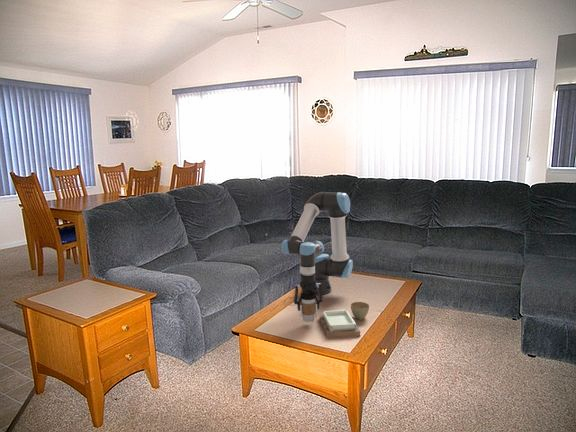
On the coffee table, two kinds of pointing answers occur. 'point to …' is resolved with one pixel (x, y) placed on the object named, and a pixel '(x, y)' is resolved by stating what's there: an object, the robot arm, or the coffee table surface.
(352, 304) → the flower pot
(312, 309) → the coffee cup
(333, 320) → the tray
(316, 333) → the coffee table surface
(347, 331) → the shelf board
